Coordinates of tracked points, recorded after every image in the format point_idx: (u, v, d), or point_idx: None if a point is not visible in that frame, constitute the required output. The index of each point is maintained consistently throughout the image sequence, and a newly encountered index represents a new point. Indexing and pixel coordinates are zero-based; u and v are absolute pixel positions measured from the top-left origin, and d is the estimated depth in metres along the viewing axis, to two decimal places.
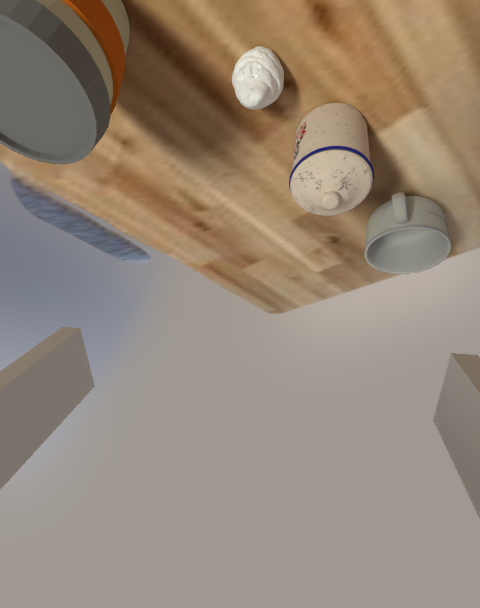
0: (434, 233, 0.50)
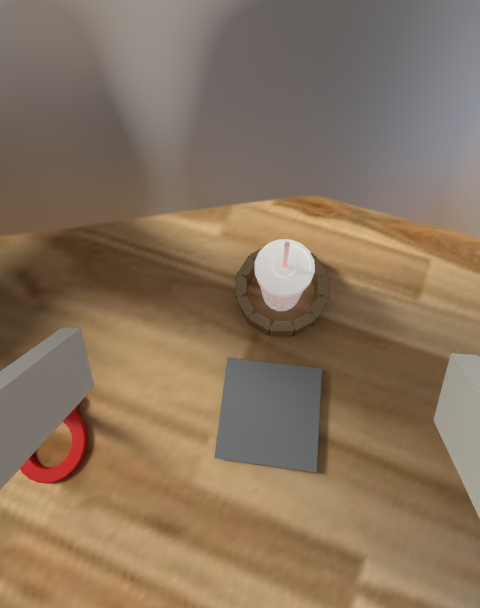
0: None
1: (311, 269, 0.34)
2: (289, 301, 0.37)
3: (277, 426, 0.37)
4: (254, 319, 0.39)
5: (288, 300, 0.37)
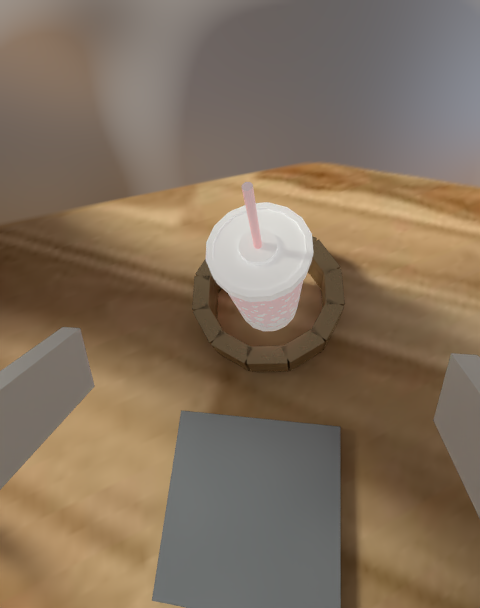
0: None
1: (307, 249, 0.19)
2: (275, 312, 0.22)
3: (264, 538, 0.21)
4: (220, 345, 0.23)
5: (273, 310, 0.21)
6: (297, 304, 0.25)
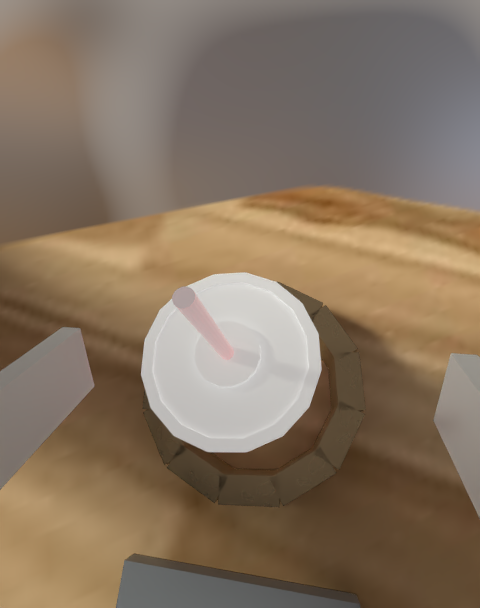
0: None
1: (310, 362, 0.11)
2: None
3: None
4: (181, 469, 0.16)
5: None
6: None
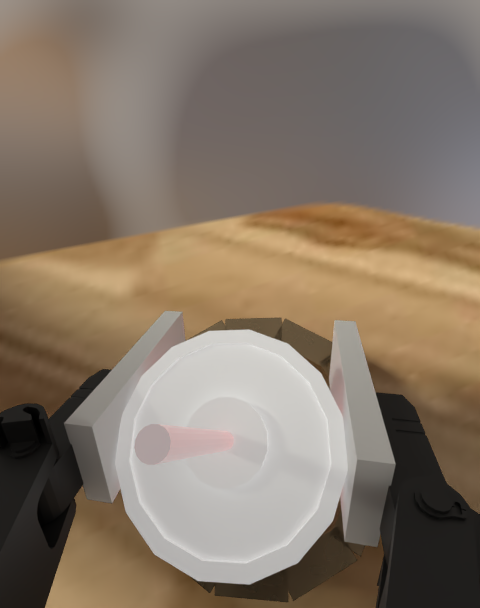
0: None
1: (333, 456, 0.08)
2: None
3: None
4: None
5: None
6: None
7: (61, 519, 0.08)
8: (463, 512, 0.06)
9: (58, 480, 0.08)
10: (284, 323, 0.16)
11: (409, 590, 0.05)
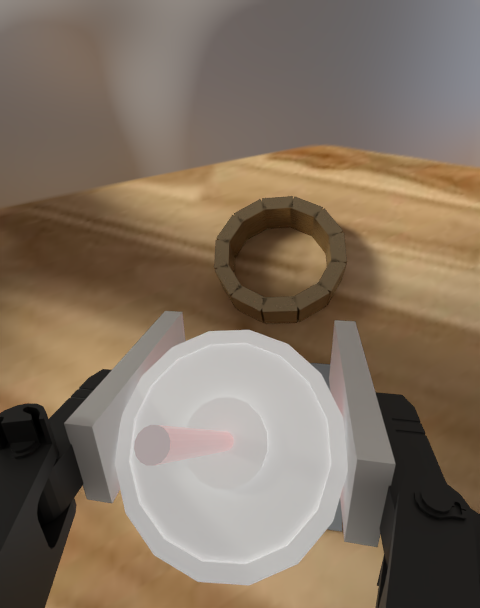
0: None
1: (333, 457, 0.08)
2: None
3: None
4: (239, 296, 0.27)
5: None
6: None
7: (61, 519, 0.08)
8: (463, 512, 0.06)
9: (58, 480, 0.08)
10: (294, 198, 0.30)
11: (409, 590, 0.05)
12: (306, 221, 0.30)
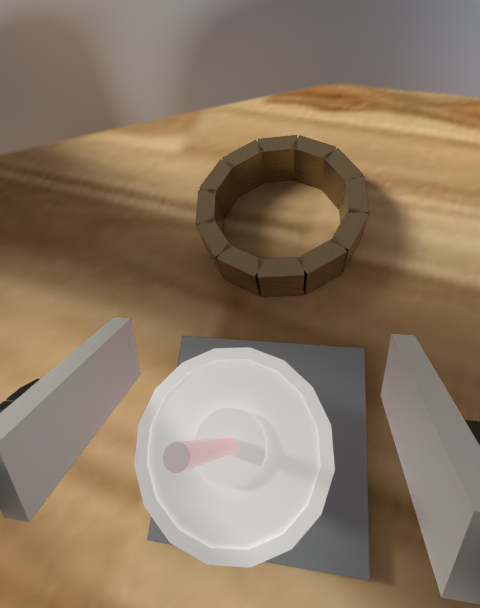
0: None
1: (322, 459, 0.10)
2: None
3: None
4: (228, 258, 0.21)
5: None
6: None
7: None
8: None
9: None
10: (299, 137, 0.23)
11: None
12: (314, 167, 0.24)
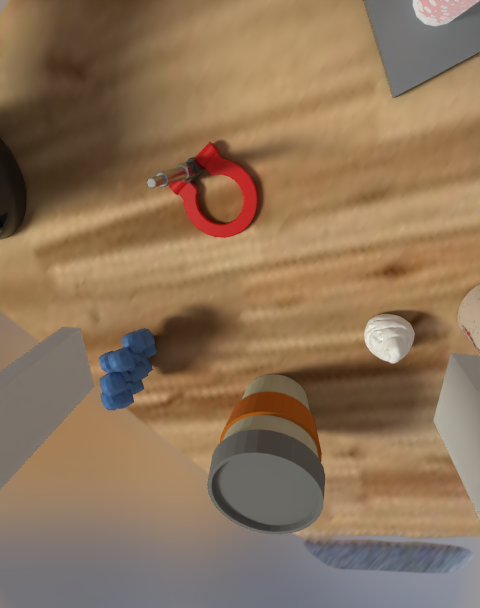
0: None
1: None
2: None
3: None
4: None
5: None
6: None
7: None
8: None
9: None
10: None
11: None
12: None
